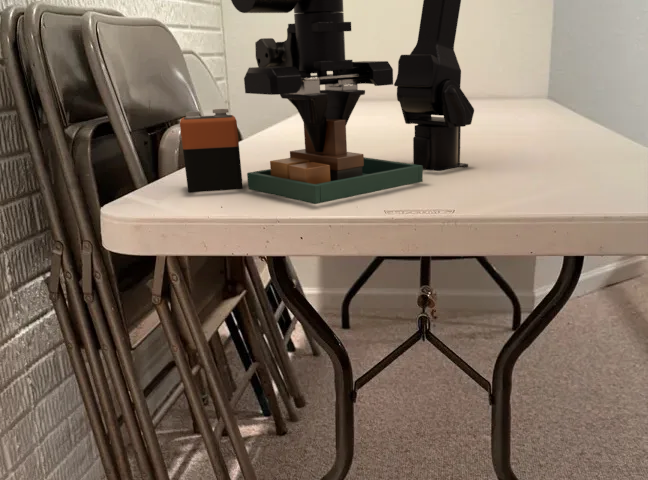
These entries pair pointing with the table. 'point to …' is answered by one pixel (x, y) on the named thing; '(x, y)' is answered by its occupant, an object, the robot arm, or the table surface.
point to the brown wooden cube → (284, 166)
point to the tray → (339, 182)
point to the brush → (333, 152)
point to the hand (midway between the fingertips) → (325, 150)
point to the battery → (211, 151)
